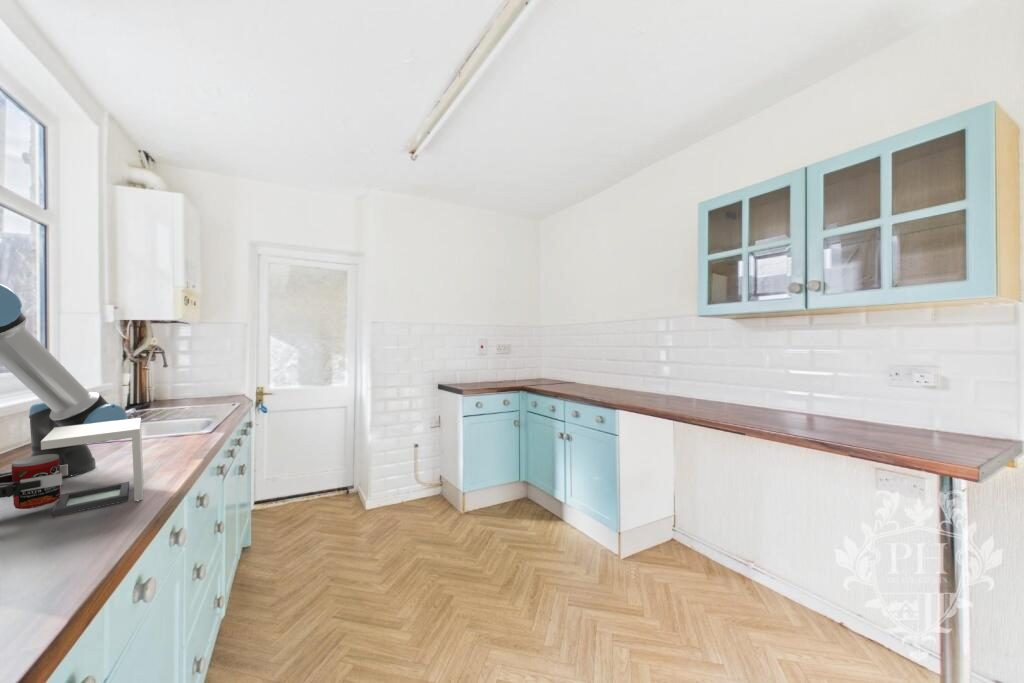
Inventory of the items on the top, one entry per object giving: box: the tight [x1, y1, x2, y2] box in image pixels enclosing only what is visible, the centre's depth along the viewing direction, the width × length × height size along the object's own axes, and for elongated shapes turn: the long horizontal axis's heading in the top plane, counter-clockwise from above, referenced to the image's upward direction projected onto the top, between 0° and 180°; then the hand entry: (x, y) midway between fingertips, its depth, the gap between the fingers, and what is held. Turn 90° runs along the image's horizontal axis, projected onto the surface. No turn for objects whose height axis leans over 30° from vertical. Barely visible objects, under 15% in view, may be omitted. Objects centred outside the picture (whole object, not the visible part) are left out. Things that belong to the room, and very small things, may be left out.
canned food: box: [11, 454, 62, 510], centre depth 100 cm, size 8×8×11 cm
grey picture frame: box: [52, 481, 130, 517], centre depth 107 cm, size 13×13×2 cm
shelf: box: [41, 417, 144, 502], centre depth 108 cm, size 17×18×19 cm
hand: (64, 474), depth 103 cm, fingers closed on canned food, 8 cm apart
